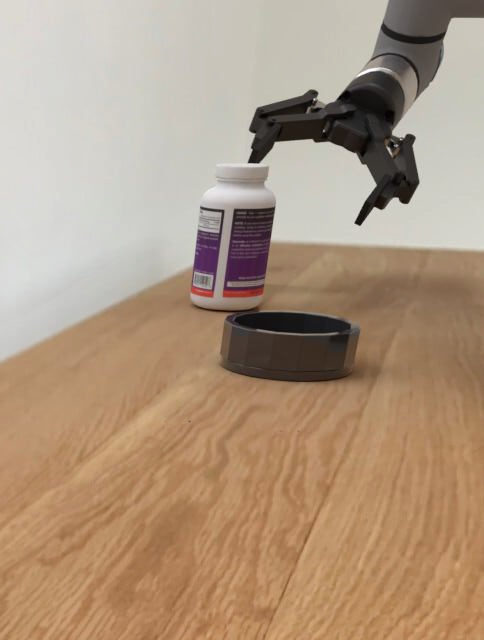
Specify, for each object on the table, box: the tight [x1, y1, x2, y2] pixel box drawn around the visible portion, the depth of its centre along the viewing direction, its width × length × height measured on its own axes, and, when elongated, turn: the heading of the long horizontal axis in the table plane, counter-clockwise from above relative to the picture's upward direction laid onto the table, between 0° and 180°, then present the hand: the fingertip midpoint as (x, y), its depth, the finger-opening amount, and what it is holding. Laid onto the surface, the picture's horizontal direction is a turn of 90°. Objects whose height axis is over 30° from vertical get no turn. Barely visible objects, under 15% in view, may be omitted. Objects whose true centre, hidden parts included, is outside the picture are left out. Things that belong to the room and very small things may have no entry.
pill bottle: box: [189, 162, 277, 311], centre depth 123 cm, size 8×8×14 cm
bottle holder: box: [219, 309, 361, 382], centre depth 100 cm, size 12×12×4 cm
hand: (306, 187), depth 122 cm, fingers open, 13 cm apart
